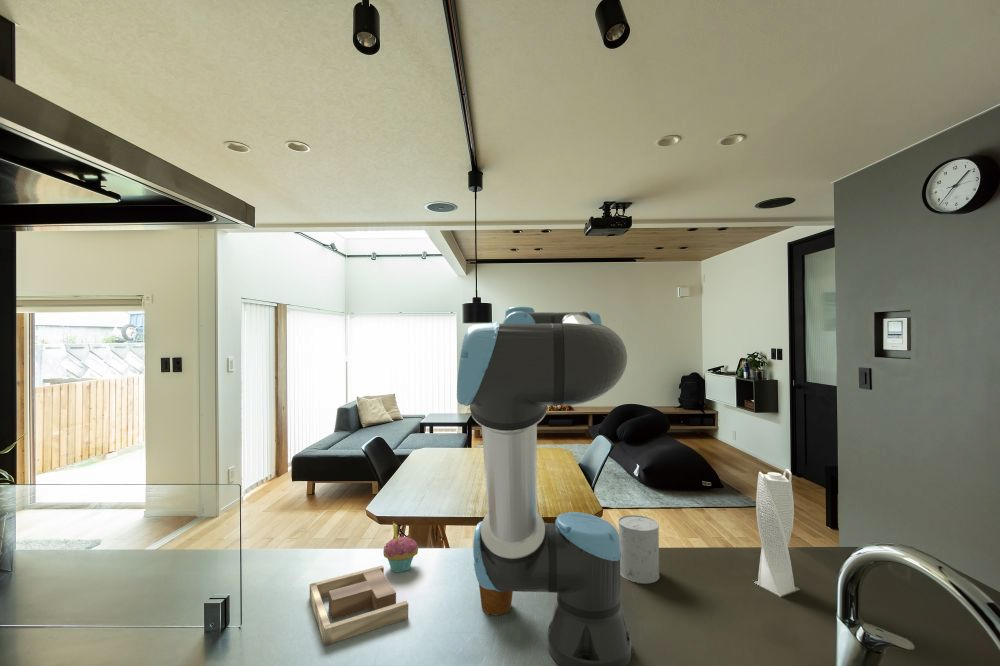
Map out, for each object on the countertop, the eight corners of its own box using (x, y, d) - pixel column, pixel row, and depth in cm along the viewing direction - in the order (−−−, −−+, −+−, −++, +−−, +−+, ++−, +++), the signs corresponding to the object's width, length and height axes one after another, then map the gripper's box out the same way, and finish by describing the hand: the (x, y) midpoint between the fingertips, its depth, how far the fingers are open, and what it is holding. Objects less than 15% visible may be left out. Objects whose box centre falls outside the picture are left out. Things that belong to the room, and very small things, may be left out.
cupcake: (392, 579, 107) (392, 529, 107) (377, 566, 113) (377, 518, 114) (424, 568, 112) (424, 520, 113) (408, 555, 119) (408, 510, 119)
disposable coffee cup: (519, 595, 100) (519, 541, 100) (517, 621, 91) (517, 561, 91) (477, 593, 101) (477, 539, 101) (470, 618, 92) (470, 559, 92)
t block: (396, 612, 94) (396, 592, 94) (336, 631, 88) (336, 610, 88) (379, 585, 104) (379, 568, 104) (325, 600, 98) (325, 582, 98)
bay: (408, 618, 92) (408, 603, 92) (324, 645, 84) (324, 629, 84) (382, 578, 108) (382, 565, 108) (309, 597, 99) (309, 584, 99)
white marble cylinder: (610, 568, 112) (610, 518, 112) (640, 560, 116) (639, 512, 117) (637, 587, 104) (636, 533, 104) (668, 578, 108) (667, 526, 108)
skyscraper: (806, 594, 101) (804, 469, 102) (783, 603, 98) (781, 473, 98) (770, 576, 109) (768, 460, 109) (748, 584, 105) (746, 464, 106)
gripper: (548, 369, 109) (548, 467, 109) (517, 367, 120) (517, 455, 120) (523, 370, 105) (523, 472, 105) (493, 368, 116) (493, 459, 115)
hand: (520, 463), depth 112 cm, fingers closed
